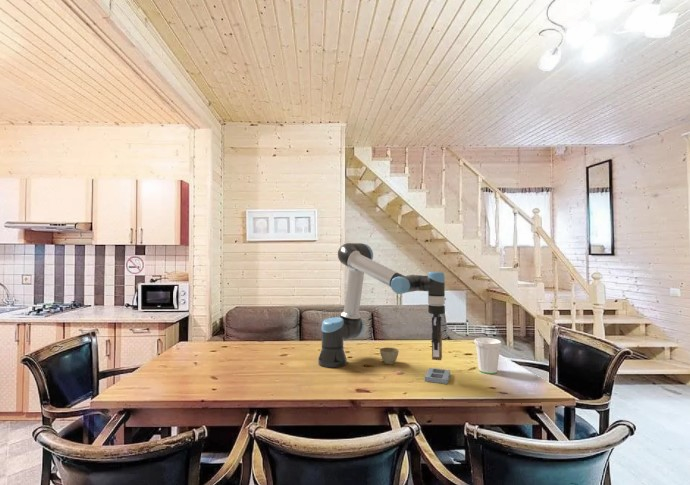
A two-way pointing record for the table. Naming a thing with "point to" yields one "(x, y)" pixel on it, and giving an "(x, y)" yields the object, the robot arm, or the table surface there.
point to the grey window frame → (437, 375)
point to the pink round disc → (398, 372)
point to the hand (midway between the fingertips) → (436, 355)
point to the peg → (439, 348)
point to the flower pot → (389, 355)
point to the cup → (488, 354)
